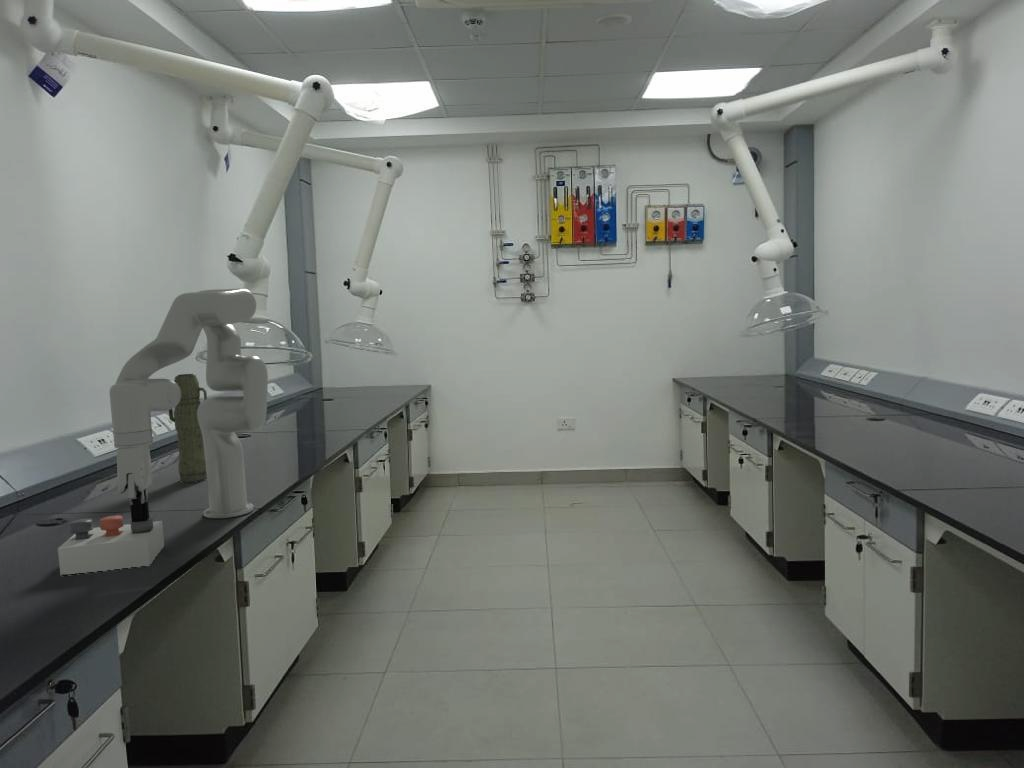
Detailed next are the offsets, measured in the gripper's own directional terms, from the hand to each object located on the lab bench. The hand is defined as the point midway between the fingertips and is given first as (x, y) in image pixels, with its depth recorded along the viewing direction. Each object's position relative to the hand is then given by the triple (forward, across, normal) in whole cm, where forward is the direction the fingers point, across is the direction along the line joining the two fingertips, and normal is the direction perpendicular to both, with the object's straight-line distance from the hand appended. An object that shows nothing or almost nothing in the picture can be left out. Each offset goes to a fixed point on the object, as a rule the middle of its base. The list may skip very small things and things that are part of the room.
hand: (140, 520), depth 157 cm
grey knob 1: (+4, 0, -12) cm, 13 cm away
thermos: (+8, -80, -3) cm, 81 cm away
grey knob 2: (+5, 0, 0) cm, 6 cm away
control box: (+8, 0, -6) cm, 10 cm away
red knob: (+5, 0, -6) cm, 7 cm away
